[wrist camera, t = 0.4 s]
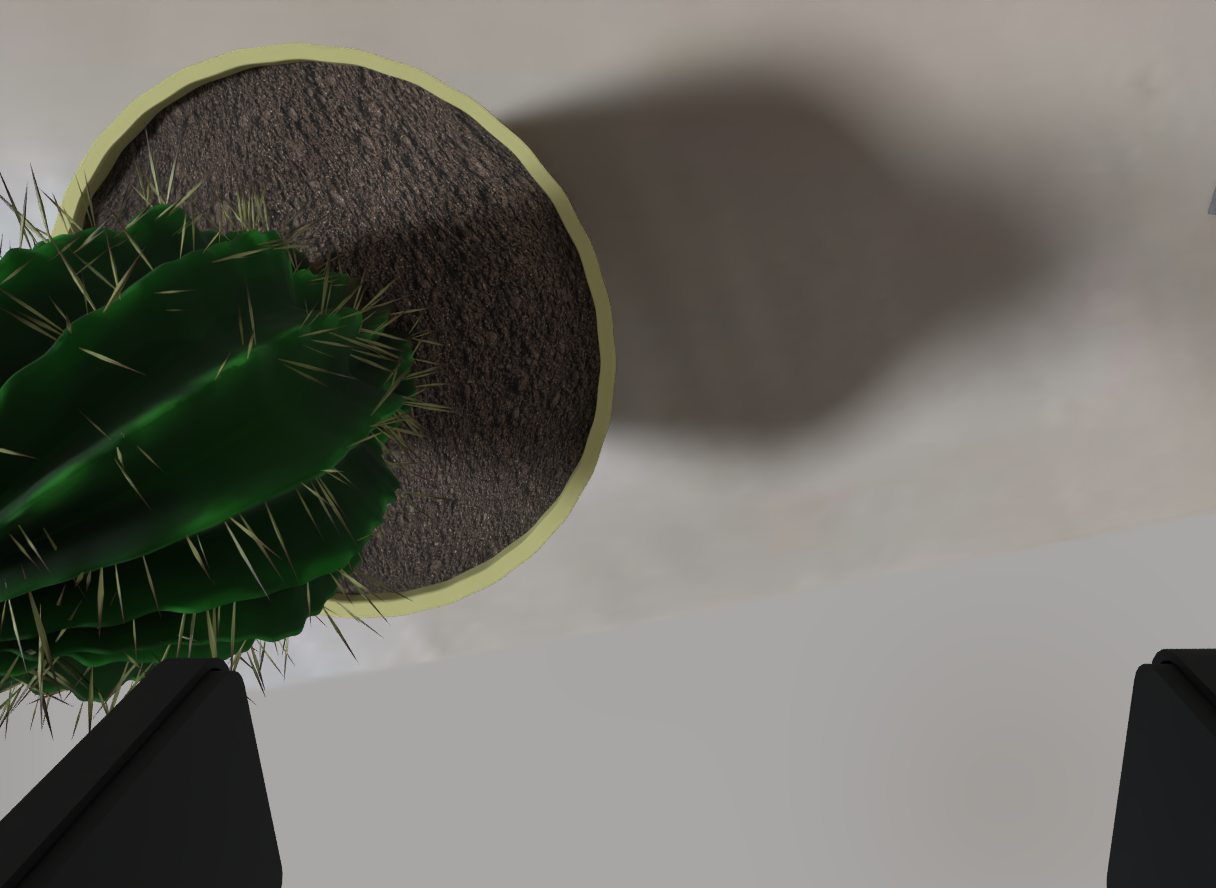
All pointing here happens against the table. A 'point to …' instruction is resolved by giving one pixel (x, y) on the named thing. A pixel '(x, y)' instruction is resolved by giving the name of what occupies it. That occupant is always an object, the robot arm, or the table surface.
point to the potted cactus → (285, 369)
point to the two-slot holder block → (1213, 205)
